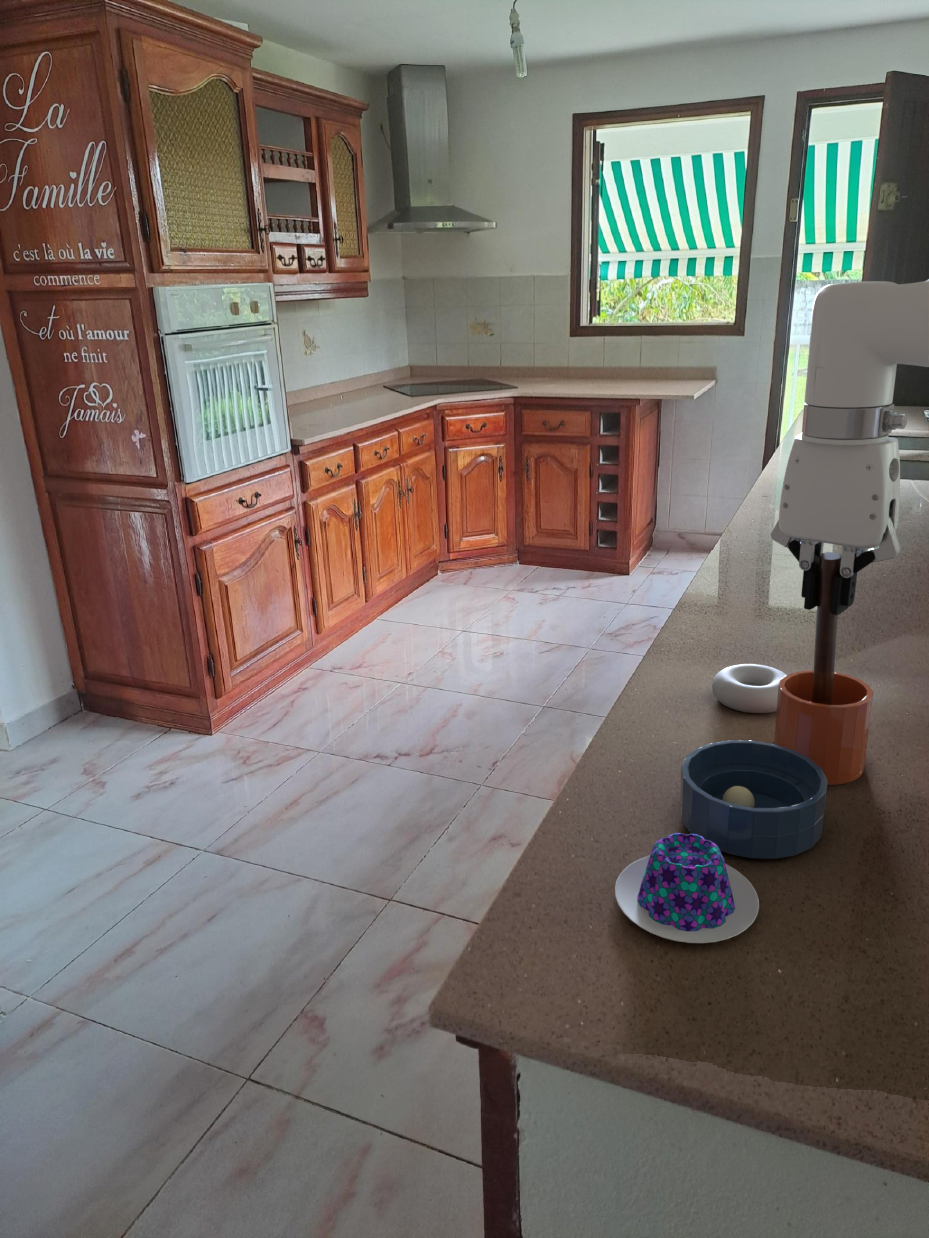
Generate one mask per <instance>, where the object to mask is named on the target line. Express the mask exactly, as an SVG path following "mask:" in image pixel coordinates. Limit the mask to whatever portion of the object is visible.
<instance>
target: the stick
mask: <svg viewBox="0 0 929 1238" xmlns="http://www.w3.org/2000/svg"><path fill="white" fill-rule="evenodd" d="M841 556H842V554H840V553H838V552H834V551H828V552H827V551H826V552H823V553H822V554H821V555H820V558H819V577H818V596H817V606H816V616H815V633H814V635H815V637H814V656H813V670H814V672H813V691H812V702H813V703H819V704H826V705H832V699H833V683H834V672H835V669H836V667H835V665H836V652H837V637H838V621H839V619H838V618H839V615H838V616H837V615H832V613H830V607H831V597H832V588H833V579H834V577H835V576H837V575H839V569H840V566H841Z"/></svg>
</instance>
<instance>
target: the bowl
mask: <svg viewBox="0 0 929 1238" xmlns="http://www.w3.org/2000/svg"><path fill="white" fill-rule="evenodd" d="M827 784H828V780H827V778H826V776H825V774H824V772H823V770H822V769H821V768H820V767H819V766H818V765H817V764H816V763H814V762H813V761H812V760H811V759H810V758H808V757H806V756H804V755H802V754H800V753H798V752H796V751H794V750H792V749H788V748H785V747H782V746H779V745H776V744H774V743H771V742H765V741H757V740H751V739H748V740H747V739H745V740H742V739H741V740H740V739H737V740H736V739H732V740H731V739H729V740H723V741H716V742H711V743H708V744H705V745H703V746H700V747H697V748H695V749H694V750H693V751H691V752H689V754H687V755H686V756H685V757H684V760H683V762H682V764H681V767H680V787H679V789H680V792H679V814H680V819H681V823H682V824H683V825H684V827H685V828H686V829H687V831H688V832H689V834H697V835H700V836H702V837H703V838H704V839H705V840H709V841H712V842H713V843H715V844H716V845H717V846H718V848H719V849H720V851H721V852H723V853H726V854H728V855H734V856H738V857H741V858H742V857H743V858H747V859H767V860H775V859H776V860H777V859H782V858H789V857H794V856H798V855H800V854H802V853H804V852H806V851H808V850H811V849H812V848H813V847H814V846H815V845H816V844H817V843H818V842H819V840H820V839H822V835H823V828H824V822H825V821H824V819H825V810H826V803H827V802H826V801H827V792H828V785H827ZM734 786H741V787H745V788H746V789H748V790H749V791H750V792H751V793H752V795H753V797H754V801H755V804H754V808H751V807H746V806H740V805H735V804H731V803H728V802H725V801H723V796H724V793H725V792H726V791H727V790H728V789H729V788H731V787H734Z"/></svg>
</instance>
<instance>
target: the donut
mask: <svg viewBox="0 0 929 1238" xmlns="http://www.w3.org/2000/svg"><path fill="white" fill-rule="evenodd" d="M786 675H787V674H786V673H785V672H783V671H781V670H780V669H778V668H774V667H771V666H769V665H768V666H767V665H764V664H756V663H742V664H735V665H730V666H726V667H725V668H723V669H722V670H720V671H718V672H717V673H716V674H715V676H714V678H713V679H712V682H711V690H712V694H713V695H714V697H715V698H716V699H717V700H718V701H719V702H720V703H721V704H722V705H724V706H725V707H728V708H729V709H732V710H735V711H738V712H743V713H749V714H770V713H775V712H776V711H777V699H778V686H779V682H780V680H781V679H782V678H783V677H784V676H786Z"/></svg>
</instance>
